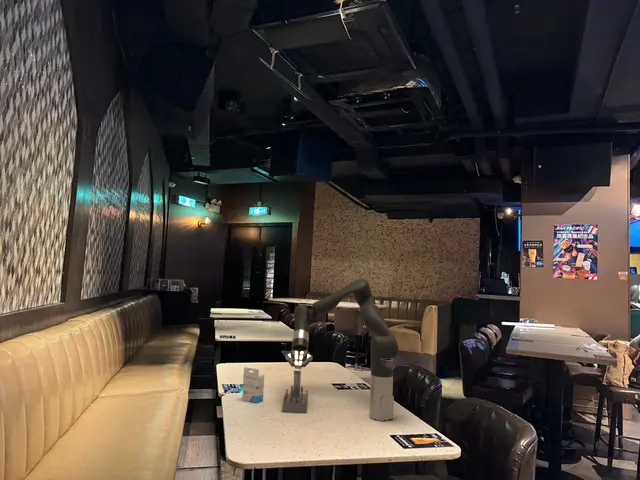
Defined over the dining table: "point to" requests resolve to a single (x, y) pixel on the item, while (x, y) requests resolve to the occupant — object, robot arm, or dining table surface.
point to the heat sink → (295, 401)
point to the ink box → (252, 385)
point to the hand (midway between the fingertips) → (297, 374)
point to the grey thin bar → (297, 379)
